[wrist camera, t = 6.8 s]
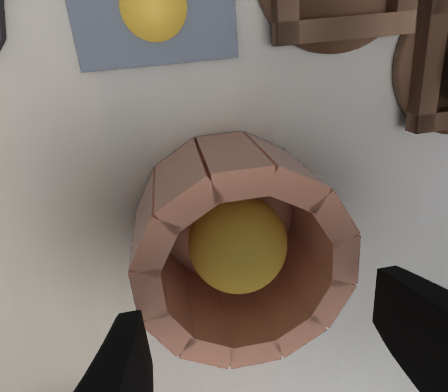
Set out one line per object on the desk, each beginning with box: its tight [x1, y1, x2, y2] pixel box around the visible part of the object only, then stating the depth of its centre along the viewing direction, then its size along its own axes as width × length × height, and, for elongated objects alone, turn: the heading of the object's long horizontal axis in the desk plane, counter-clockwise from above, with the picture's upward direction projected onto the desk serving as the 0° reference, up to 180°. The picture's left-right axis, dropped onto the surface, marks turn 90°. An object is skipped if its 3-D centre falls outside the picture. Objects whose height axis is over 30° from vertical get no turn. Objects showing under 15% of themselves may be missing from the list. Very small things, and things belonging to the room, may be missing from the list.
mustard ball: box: [188, 198, 287, 294], centre depth 15 cm, size 4×4×4 cm
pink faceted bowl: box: [128, 131, 361, 369], centre depth 15 cm, size 8×8×5 cm
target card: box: [65, 0, 238, 73], centre depth 13 cm, size 6×4×1 cm, turn 95°
